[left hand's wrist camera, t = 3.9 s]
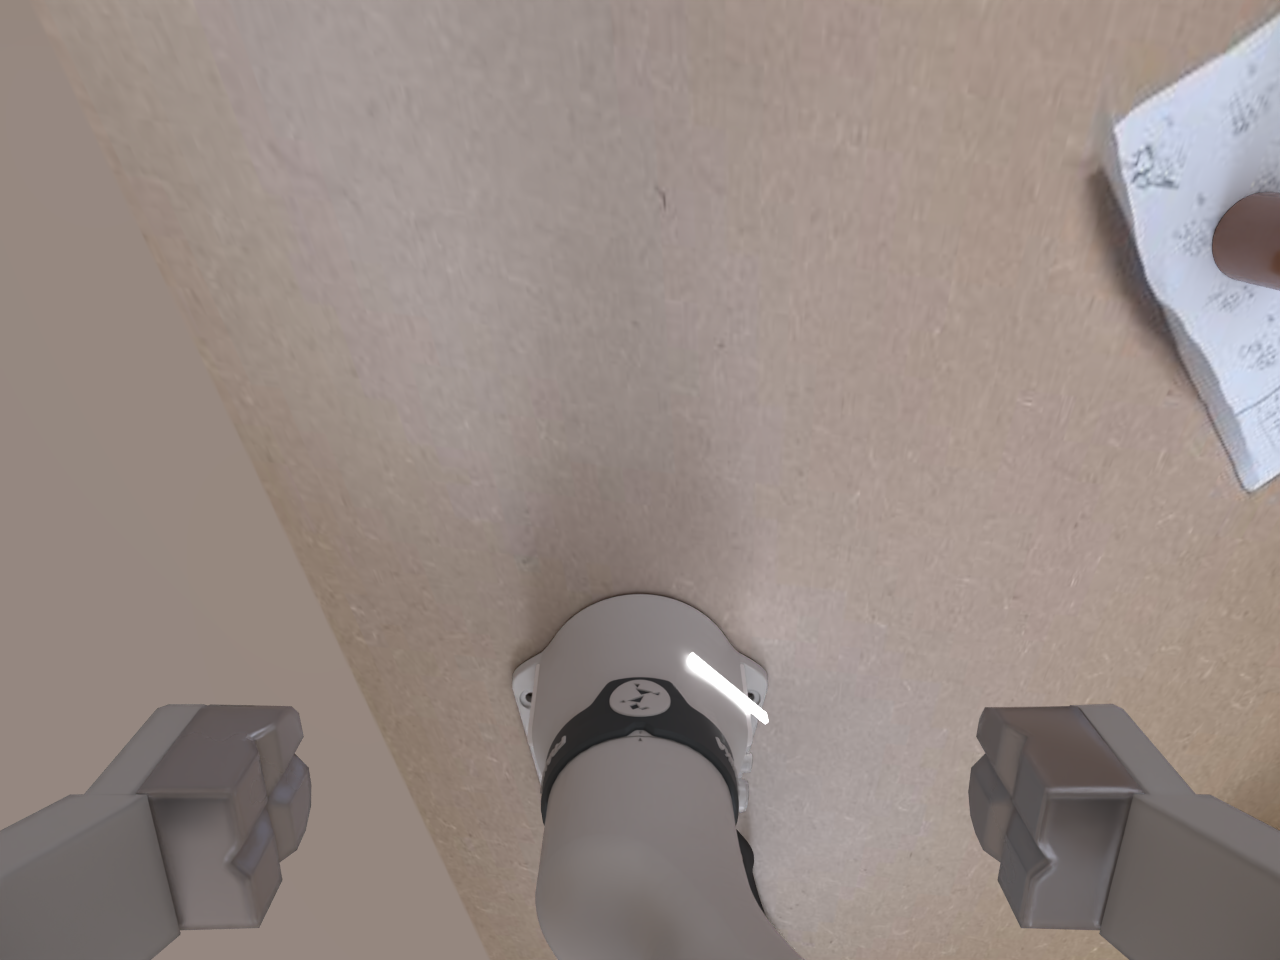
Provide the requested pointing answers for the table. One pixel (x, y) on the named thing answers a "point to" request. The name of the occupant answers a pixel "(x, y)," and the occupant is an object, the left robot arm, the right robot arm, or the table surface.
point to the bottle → (1250, 241)
